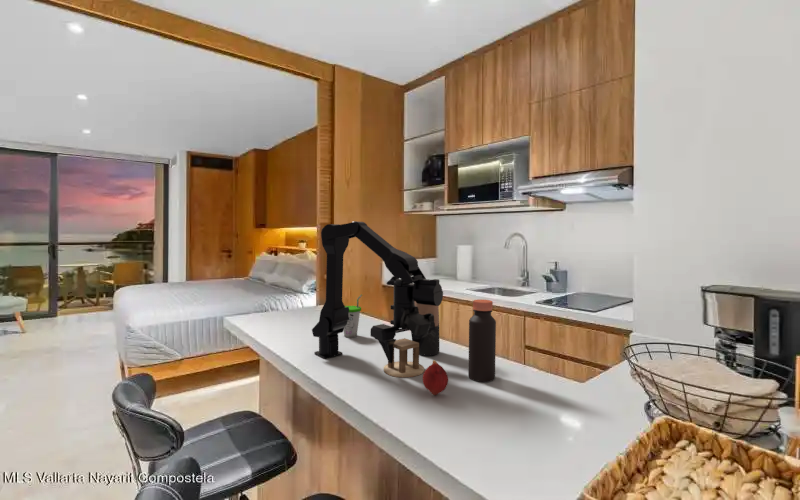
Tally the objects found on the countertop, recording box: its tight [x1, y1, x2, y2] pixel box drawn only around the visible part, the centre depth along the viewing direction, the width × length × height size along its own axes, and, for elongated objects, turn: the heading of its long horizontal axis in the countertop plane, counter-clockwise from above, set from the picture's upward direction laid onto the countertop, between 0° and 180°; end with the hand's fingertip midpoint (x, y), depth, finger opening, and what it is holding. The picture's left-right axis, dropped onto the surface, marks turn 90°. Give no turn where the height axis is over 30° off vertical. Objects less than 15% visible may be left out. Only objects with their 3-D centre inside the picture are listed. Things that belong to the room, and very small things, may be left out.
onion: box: [422, 359, 449, 396], centre depth 90 cm, size 6×6×8 cm
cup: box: [343, 294, 363, 339], centre depth 141 cm, size 8×8×15 cm
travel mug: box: [415, 301, 440, 356], centre depth 122 cm, size 8×8×20 cm
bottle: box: [467, 299, 497, 383], centre depth 101 cm, size 7×7×20 cm
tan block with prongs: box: [387, 337, 420, 373], centre depth 107 cm, size 6×6×7 cm
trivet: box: [383, 360, 425, 378], centre depth 107 cm, size 11×11×1 cm
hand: (403, 359), depth 107 cm, fingers open, 9 cm apart
